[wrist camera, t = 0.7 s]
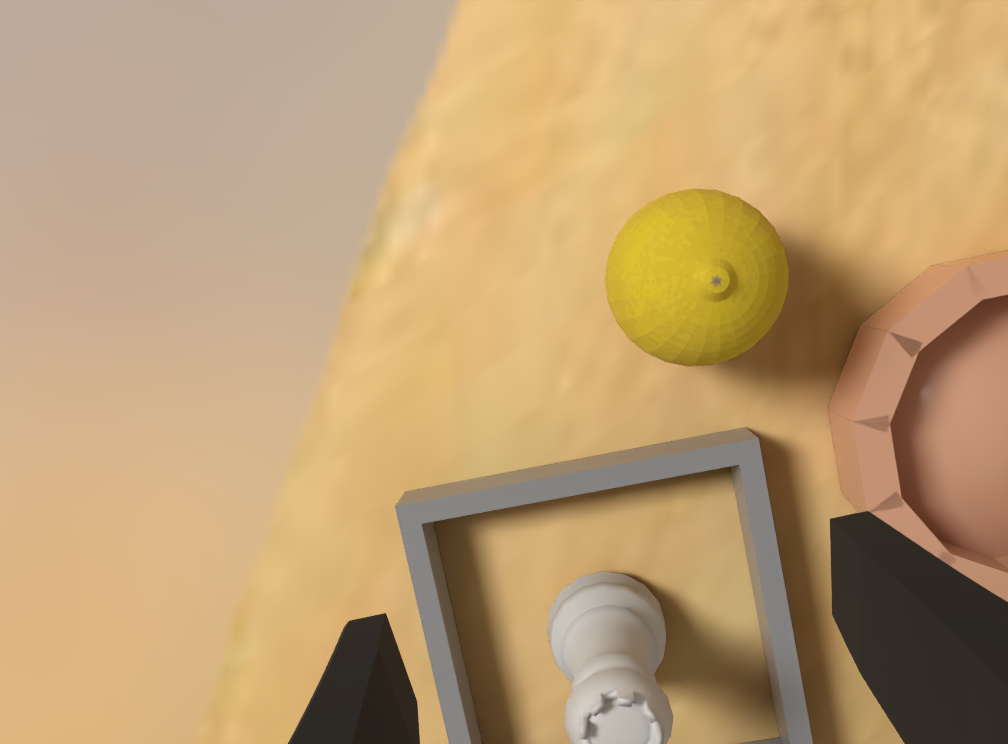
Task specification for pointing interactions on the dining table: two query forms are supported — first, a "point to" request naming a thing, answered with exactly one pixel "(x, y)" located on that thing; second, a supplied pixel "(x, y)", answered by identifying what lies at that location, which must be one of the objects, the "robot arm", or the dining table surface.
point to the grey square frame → (584, 478)
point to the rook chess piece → (611, 660)
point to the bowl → (933, 416)
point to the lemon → (697, 277)
